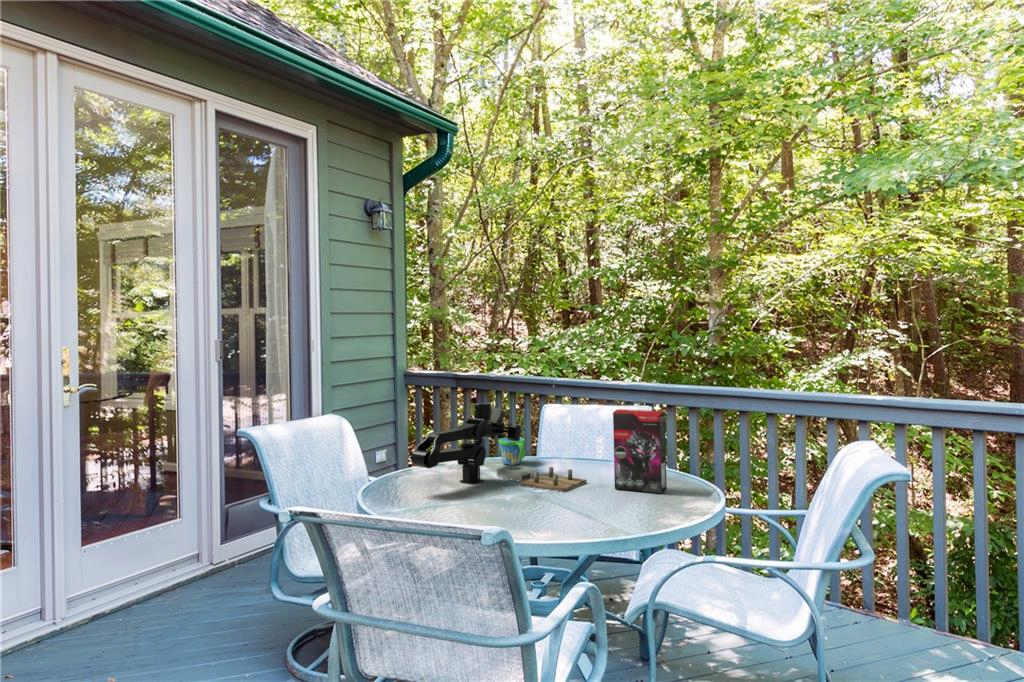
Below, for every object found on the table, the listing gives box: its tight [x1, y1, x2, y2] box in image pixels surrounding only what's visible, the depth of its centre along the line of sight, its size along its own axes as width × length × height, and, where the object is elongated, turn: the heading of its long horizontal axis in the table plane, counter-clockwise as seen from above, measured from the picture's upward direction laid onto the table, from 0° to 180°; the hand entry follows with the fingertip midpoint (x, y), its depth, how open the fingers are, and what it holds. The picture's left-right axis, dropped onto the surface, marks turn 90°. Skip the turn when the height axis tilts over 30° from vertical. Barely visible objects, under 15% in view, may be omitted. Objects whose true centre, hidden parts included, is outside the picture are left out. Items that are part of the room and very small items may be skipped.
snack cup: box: [498, 437, 526, 466], centre depth 294 cm, size 16×10×10 cm
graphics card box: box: [612, 409, 668, 494], centre depth 245 cm, size 17×7×27 cm, turn 62°
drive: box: [496, 464, 532, 482], centre depth 267 cm, size 6×11×4 cm, turn 55°
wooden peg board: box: [519, 466, 588, 492], centre depth 256 cm, size 16×18×5 cm
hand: (512, 429), depth 282 cm, fingers open, 9 cm apart
